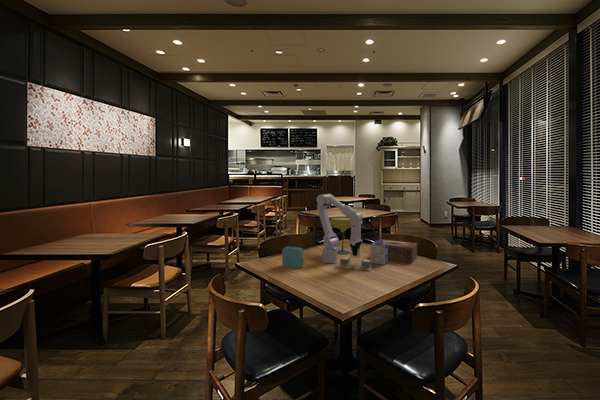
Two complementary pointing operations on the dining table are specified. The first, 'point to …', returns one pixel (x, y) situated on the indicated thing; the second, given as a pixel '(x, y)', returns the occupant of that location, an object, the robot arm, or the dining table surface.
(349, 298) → the dining table surface
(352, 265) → the din rail
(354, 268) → the rail board
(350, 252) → the block
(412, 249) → the tissue box cover
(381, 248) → the ink cartridge box
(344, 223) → the cocktail glass
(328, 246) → the robot arm
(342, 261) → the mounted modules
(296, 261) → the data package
